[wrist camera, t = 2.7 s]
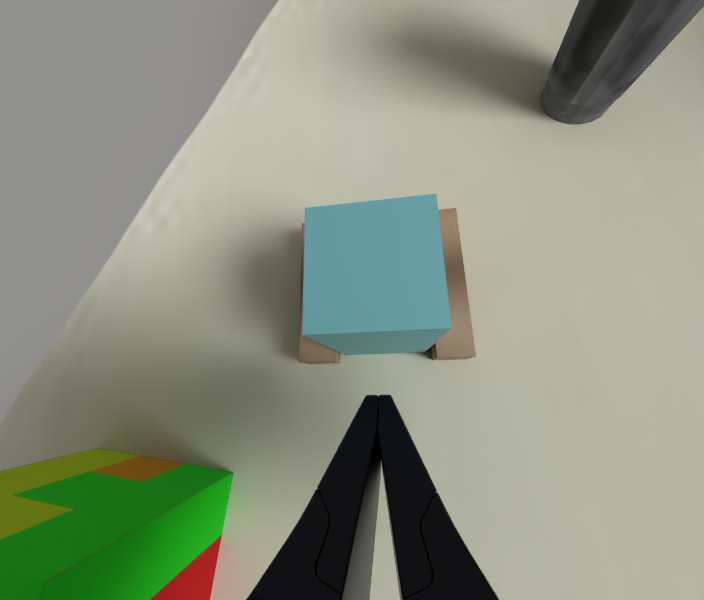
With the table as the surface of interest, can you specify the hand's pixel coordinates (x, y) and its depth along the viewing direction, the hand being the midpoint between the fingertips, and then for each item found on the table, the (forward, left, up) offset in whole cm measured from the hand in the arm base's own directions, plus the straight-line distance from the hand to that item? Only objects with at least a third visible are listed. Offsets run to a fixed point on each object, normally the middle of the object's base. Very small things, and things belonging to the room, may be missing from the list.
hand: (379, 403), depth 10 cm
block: (+3, +4, -8) cm, 10 cm away
